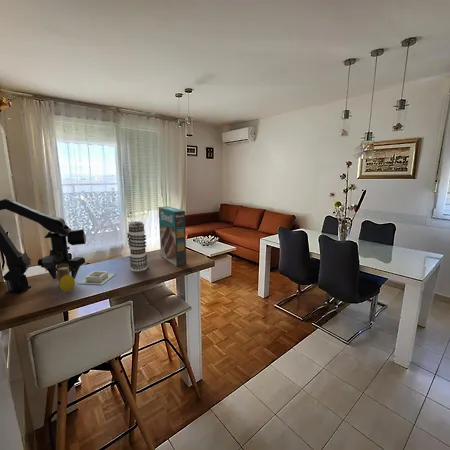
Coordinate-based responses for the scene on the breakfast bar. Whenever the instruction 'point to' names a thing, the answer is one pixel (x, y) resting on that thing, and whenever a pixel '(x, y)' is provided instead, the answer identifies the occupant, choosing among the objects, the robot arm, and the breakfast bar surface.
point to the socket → (97, 278)
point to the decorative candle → (137, 246)
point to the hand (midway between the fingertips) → (64, 279)
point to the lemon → (67, 283)
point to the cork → (63, 266)
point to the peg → (62, 272)
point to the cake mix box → (172, 235)
